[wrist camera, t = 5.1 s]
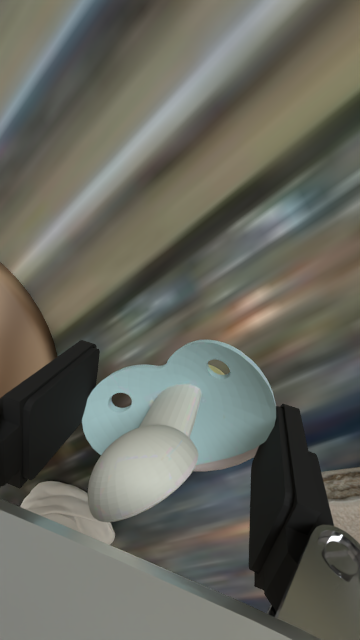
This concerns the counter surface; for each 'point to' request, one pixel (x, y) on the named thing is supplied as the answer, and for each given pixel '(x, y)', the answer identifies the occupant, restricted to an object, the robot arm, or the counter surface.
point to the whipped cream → (67, 509)
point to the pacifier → (173, 426)
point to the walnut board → (21, 334)
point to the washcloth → (344, 499)
